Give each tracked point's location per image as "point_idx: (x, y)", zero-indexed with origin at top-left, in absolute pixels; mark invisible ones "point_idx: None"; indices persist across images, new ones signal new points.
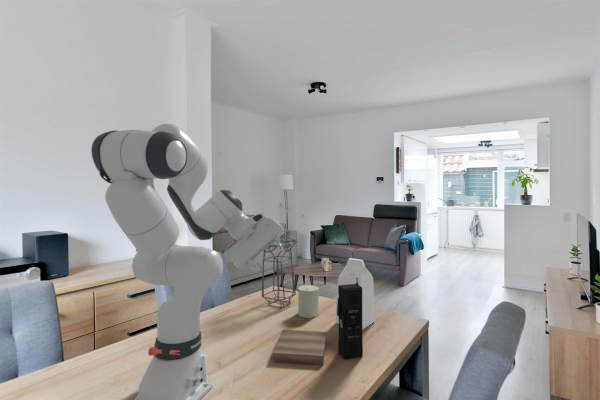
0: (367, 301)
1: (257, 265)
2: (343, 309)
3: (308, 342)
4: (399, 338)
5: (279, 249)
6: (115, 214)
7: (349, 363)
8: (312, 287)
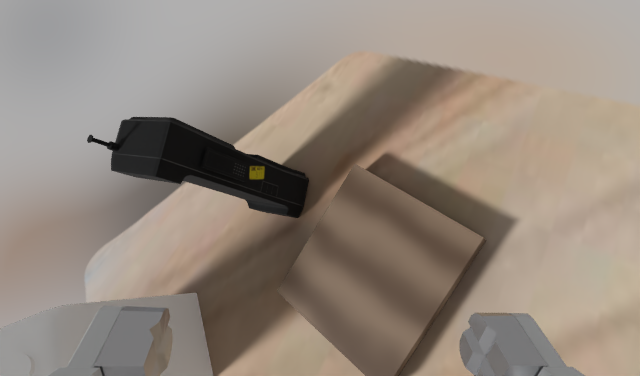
0: None
1: (531, 337)
2: (226, 145)
3: (352, 251)
4: (168, 216)
5: (162, 345)
6: None
7: (309, 157)
8: None
